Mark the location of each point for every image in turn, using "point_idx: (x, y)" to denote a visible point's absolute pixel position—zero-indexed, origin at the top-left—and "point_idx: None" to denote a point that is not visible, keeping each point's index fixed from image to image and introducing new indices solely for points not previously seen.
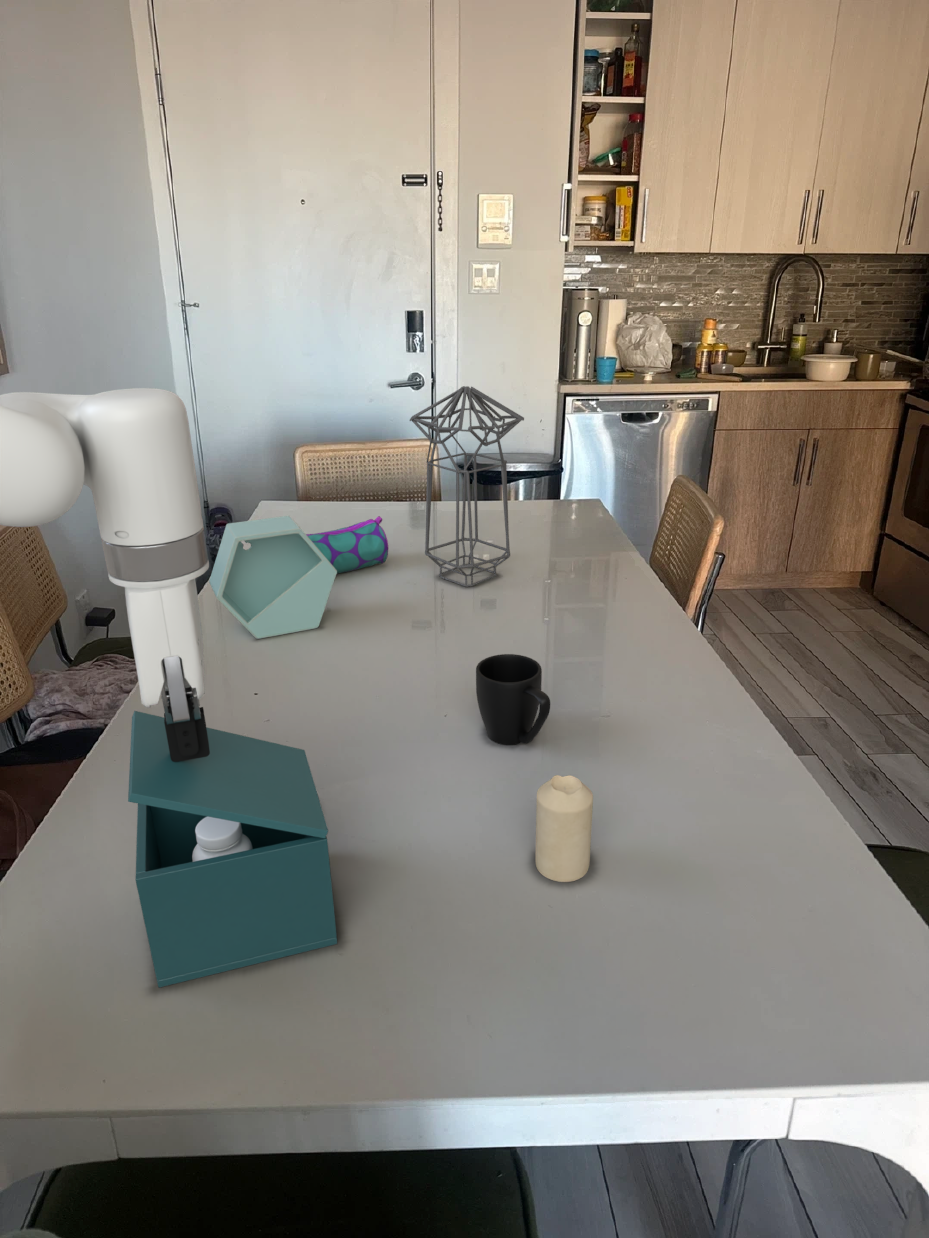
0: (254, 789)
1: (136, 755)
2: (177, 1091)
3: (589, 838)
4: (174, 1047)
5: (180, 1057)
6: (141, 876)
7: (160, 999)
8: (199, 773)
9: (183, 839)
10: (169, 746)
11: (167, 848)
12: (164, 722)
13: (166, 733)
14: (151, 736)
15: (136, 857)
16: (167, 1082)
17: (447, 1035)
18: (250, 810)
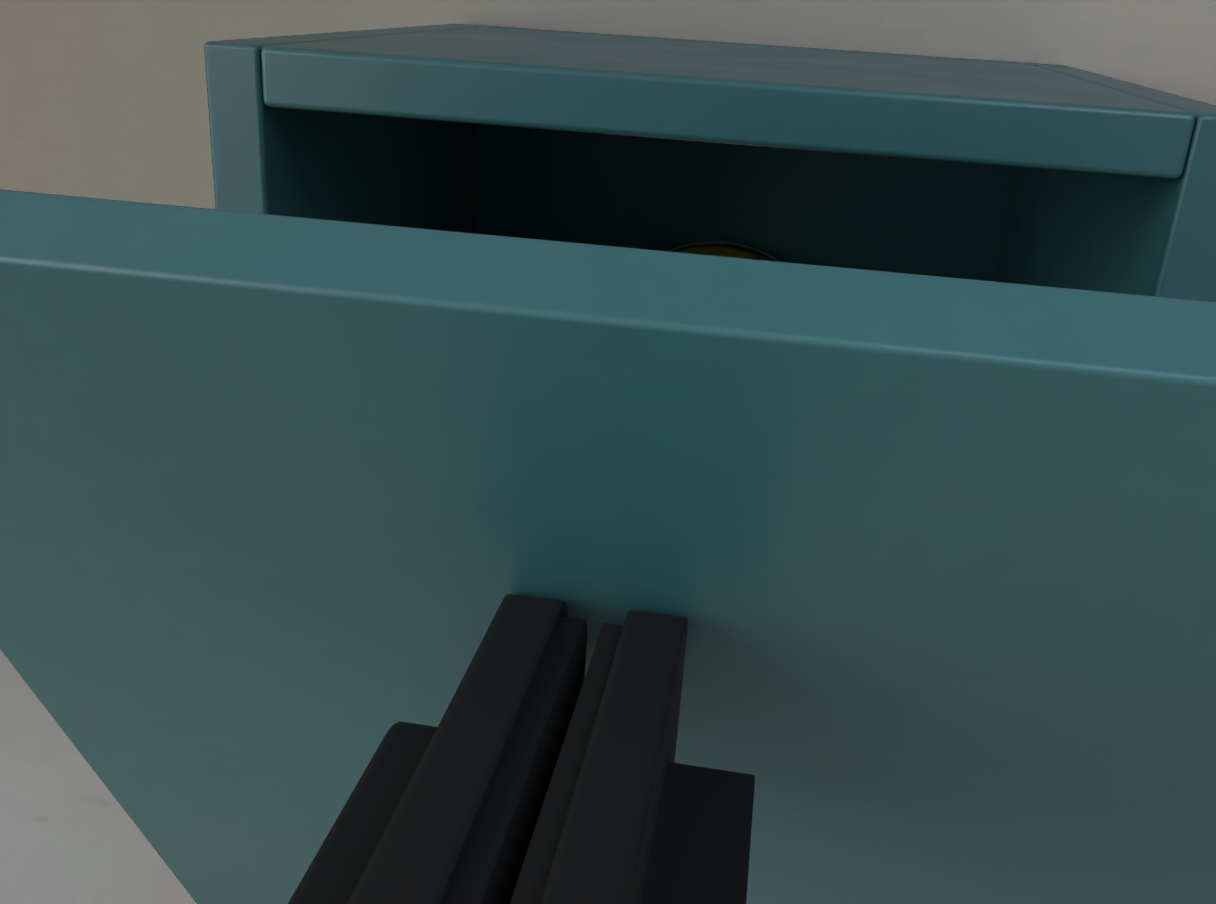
0: None
1: (434, 337)
2: (26, 51)
3: None
4: (184, 57)
5: (142, 73)
6: (220, 79)
7: (399, 27)
8: (431, 705)
9: (1048, 264)
10: (460, 684)
11: (1057, 170)
12: (356, 902)
13: (411, 785)
14: (959, 514)
15: (407, 59)
16: (62, 23)
17: (61, 742)
18: (172, 813)
